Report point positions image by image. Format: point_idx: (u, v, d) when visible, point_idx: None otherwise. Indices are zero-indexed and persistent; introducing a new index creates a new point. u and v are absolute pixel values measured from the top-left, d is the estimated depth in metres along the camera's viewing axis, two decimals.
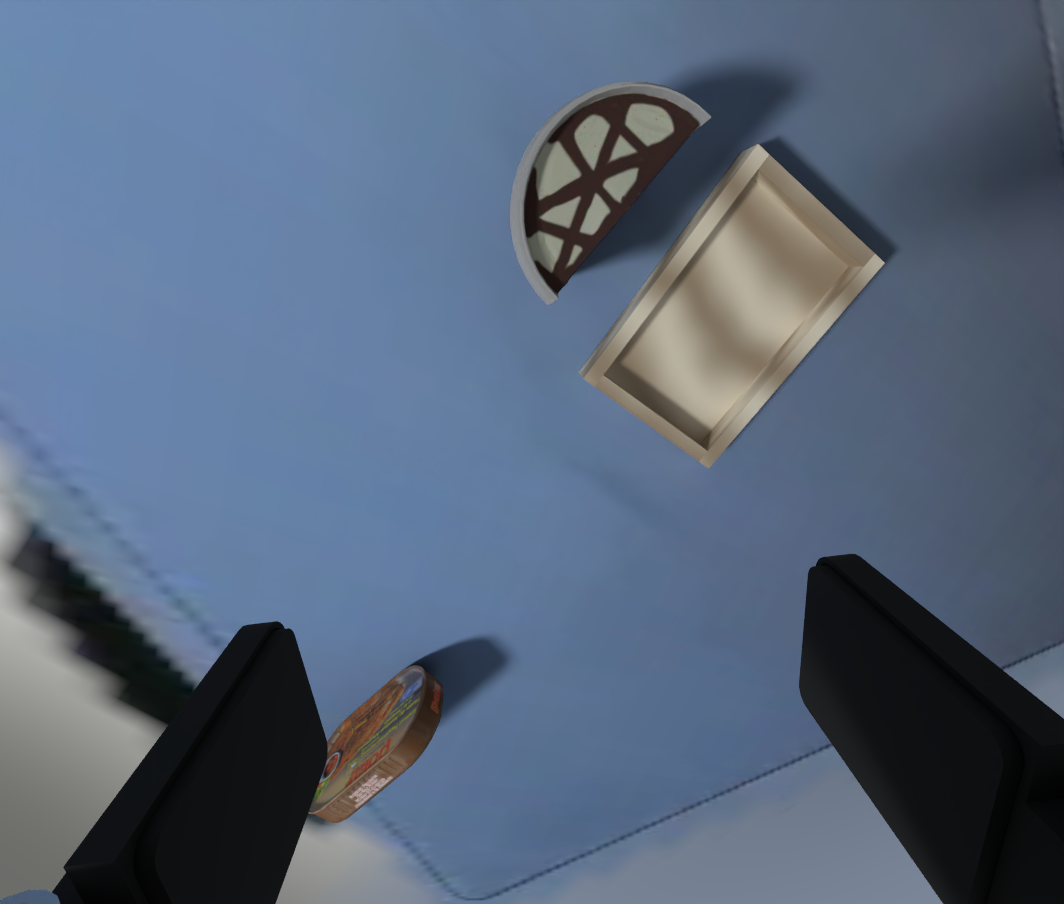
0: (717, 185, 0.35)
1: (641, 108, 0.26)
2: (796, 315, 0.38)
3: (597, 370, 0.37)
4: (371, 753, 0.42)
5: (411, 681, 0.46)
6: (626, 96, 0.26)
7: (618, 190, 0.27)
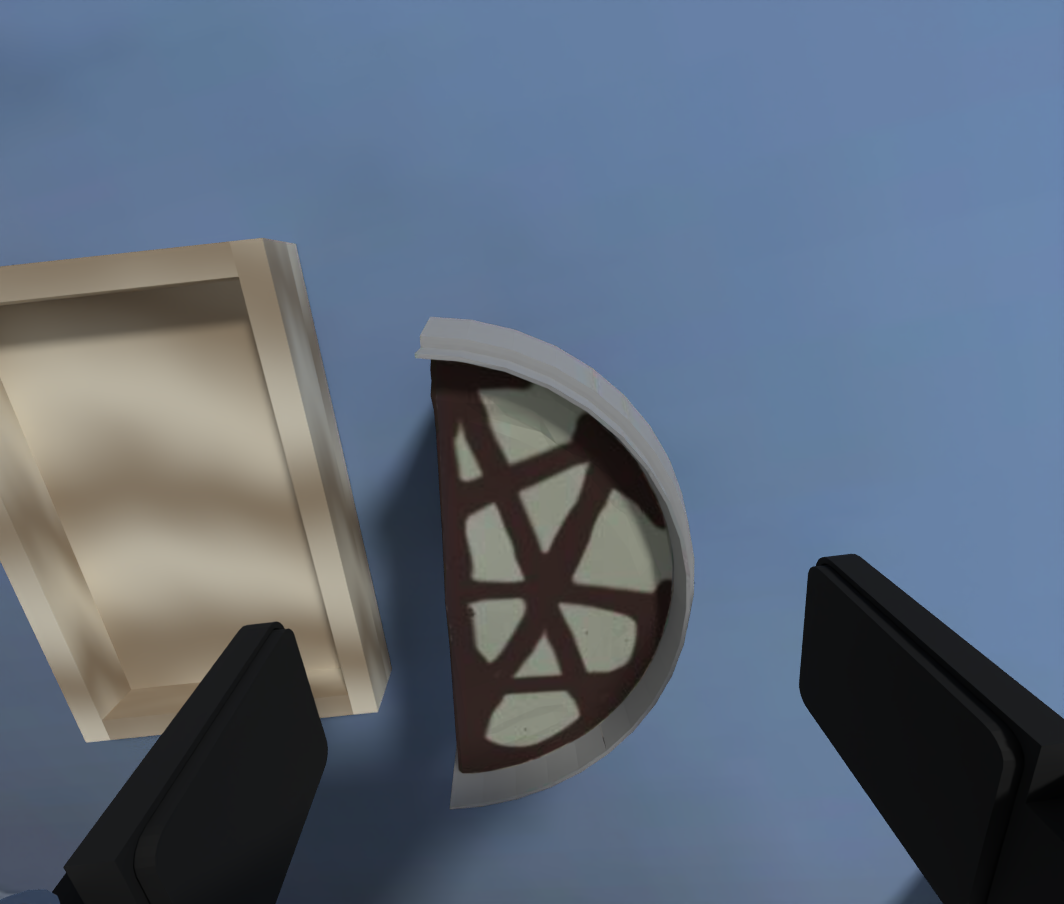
0: (379, 625, 0.23)
1: (560, 723, 0.13)
2: (109, 596, 0.21)
3: (256, 275, 0.16)
4: None
5: None
6: (596, 720, 0.13)
7: (491, 615, 0.12)
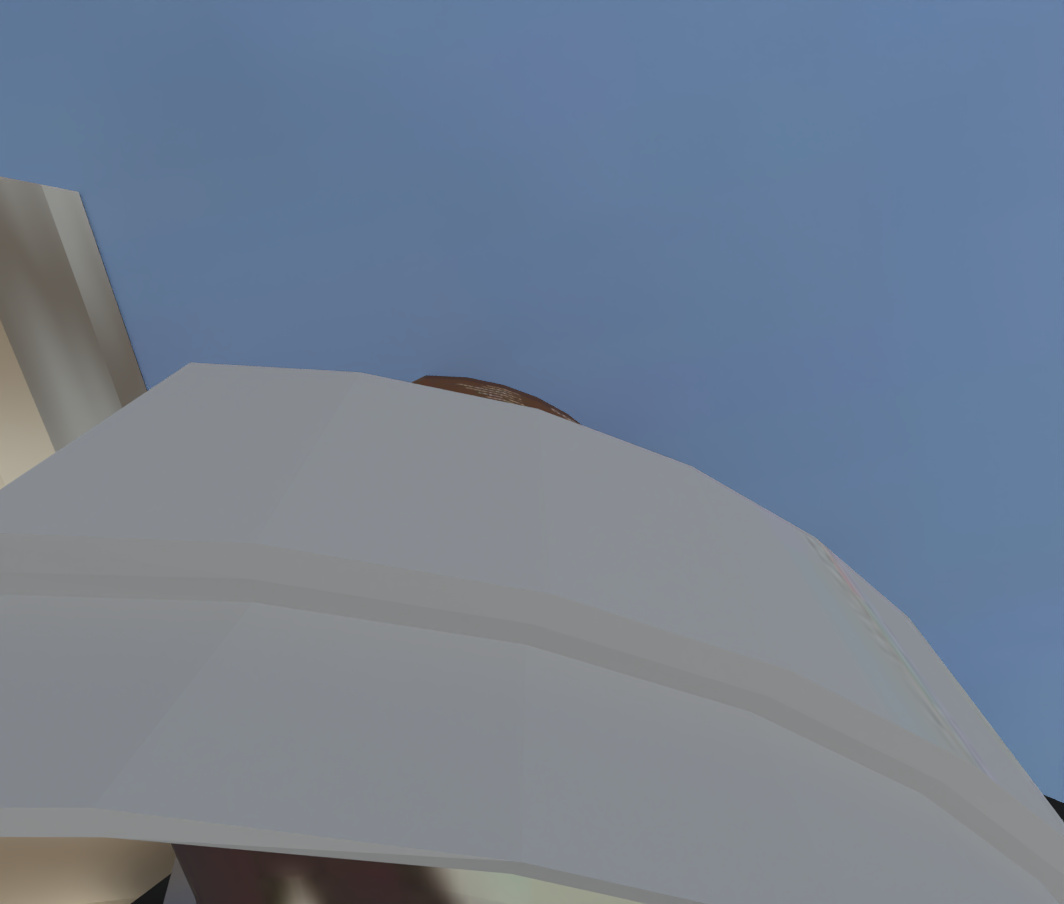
0: None
1: None
2: None
3: None
4: None
5: None
6: None
7: None
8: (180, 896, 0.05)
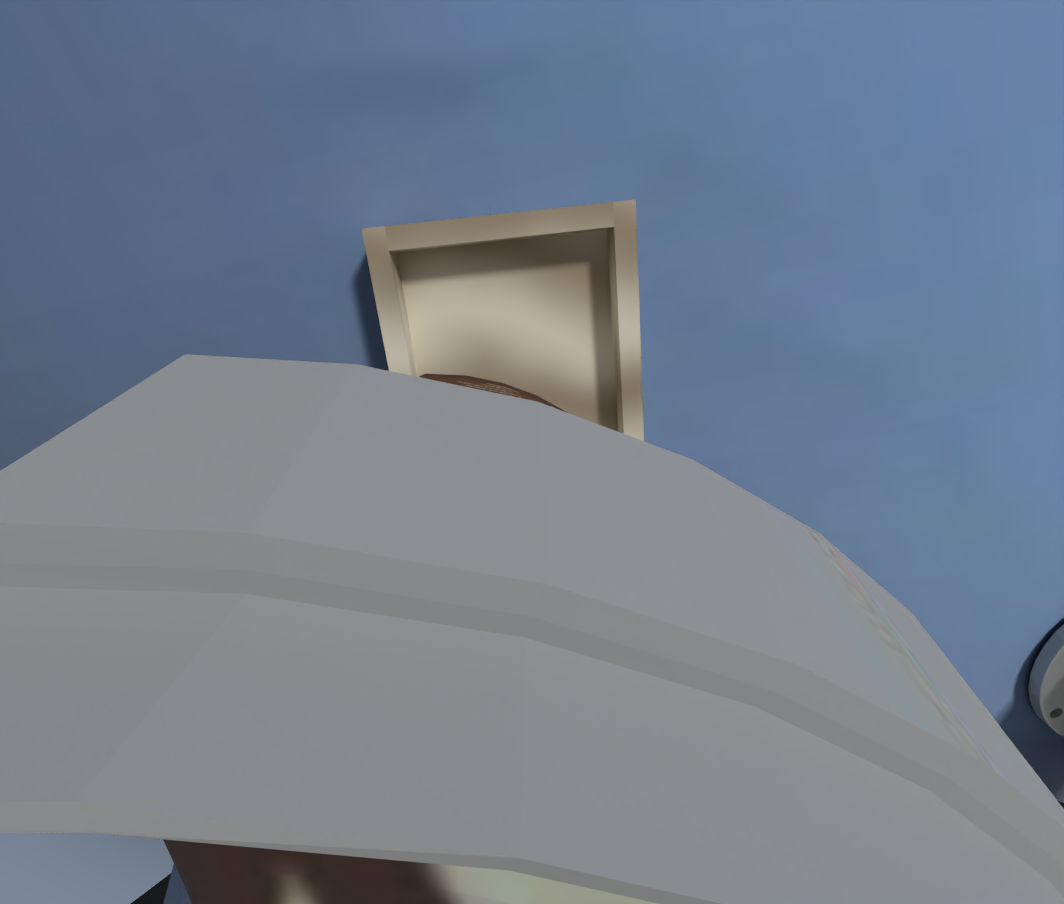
0: None
1: None
2: None
3: (626, 226, 0.23)
4: None
5: None
6: None
7: None
8: (180, 895, 0.05)
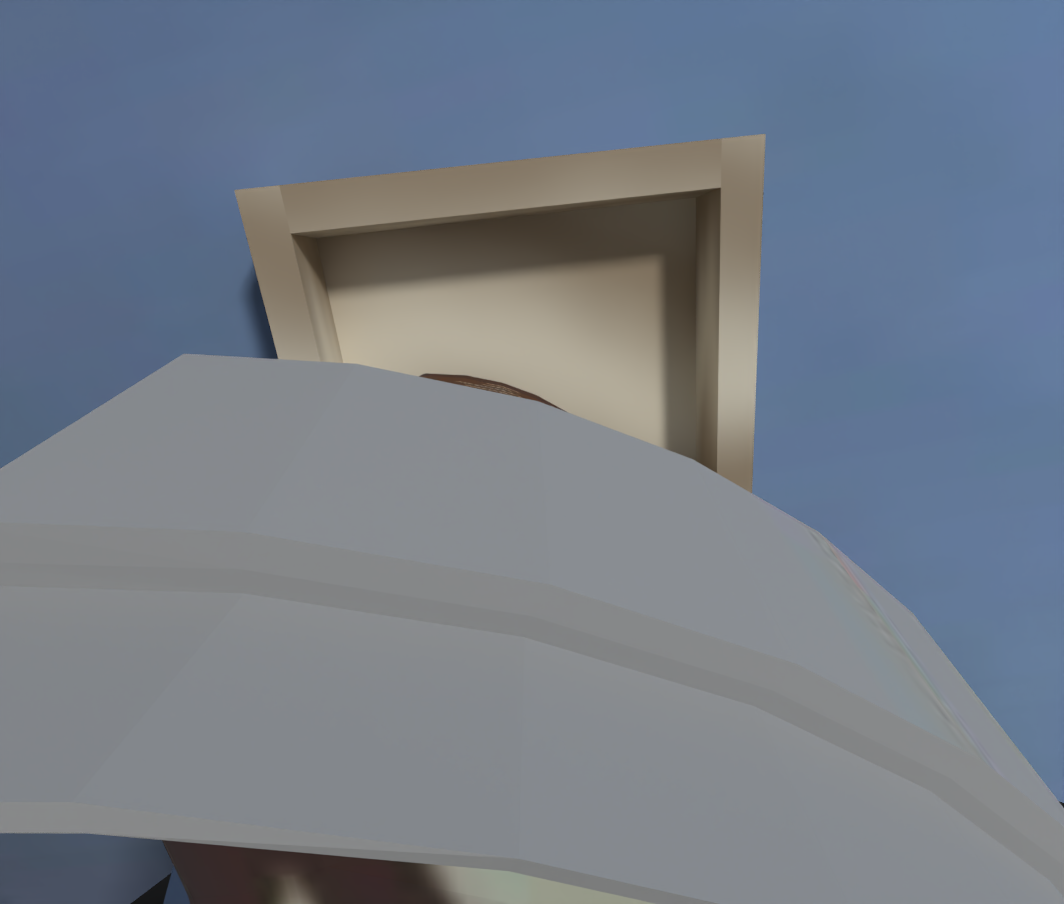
0: None
1: None
2: None
3: (743, 186, 0.12)
4: None
5: None
6: None
7: None
8: (180, 896, 0.05)
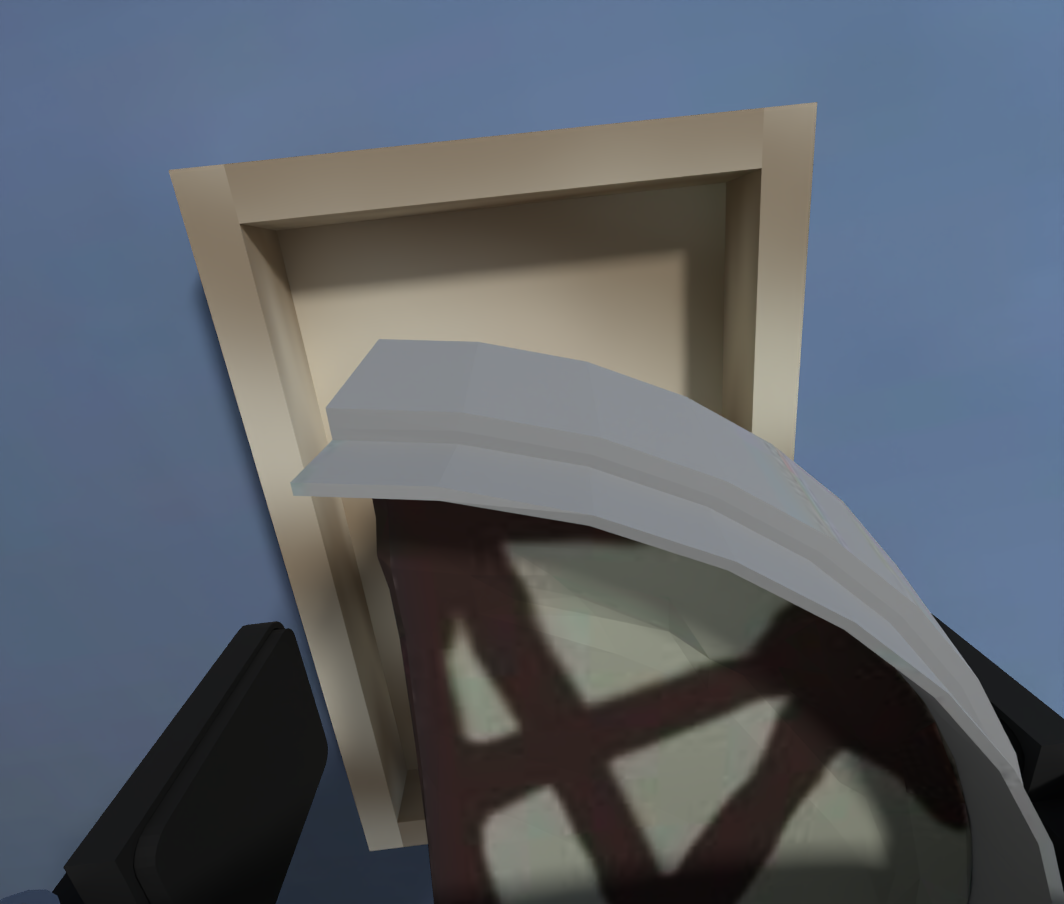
0: None
1: None
2: None
3: (789, 166, 0.10)
4: None
5: None
6: None
7: None
8: None
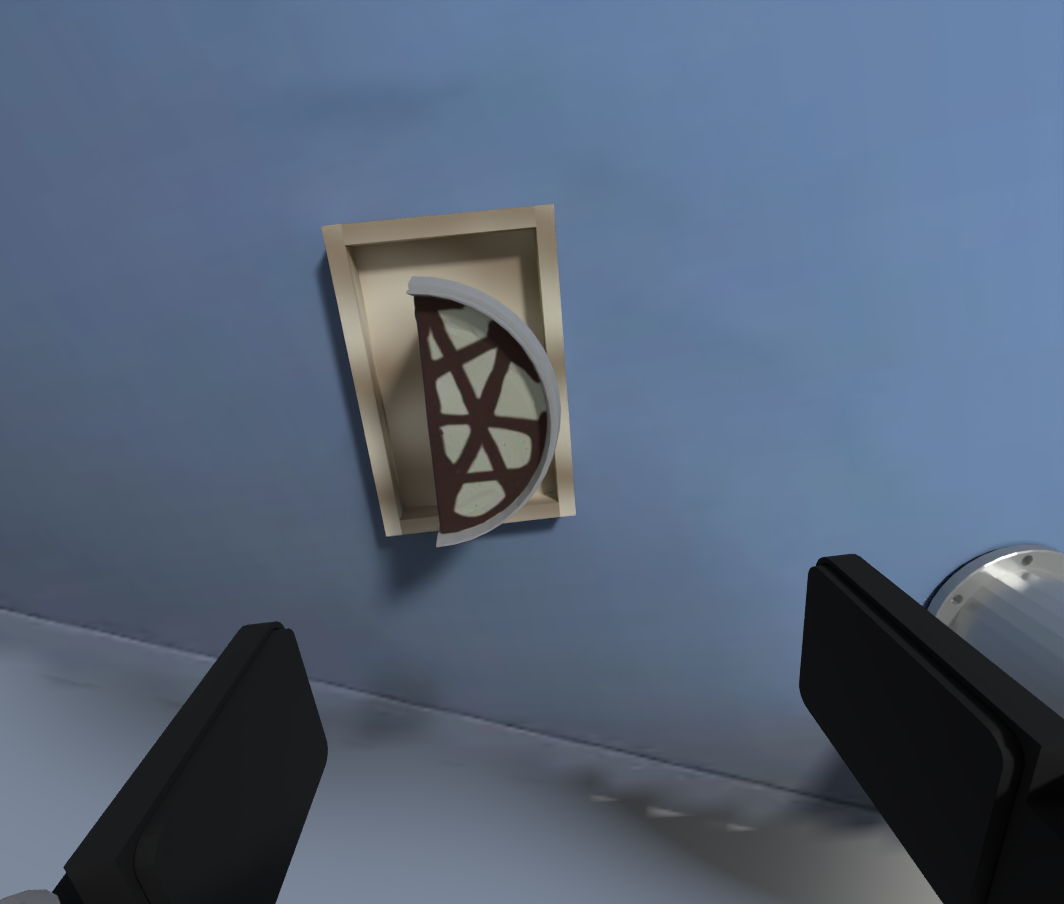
0: None
1: (495, 501, 0.24)
2: (401, 441, 0.33)
3: (546, 226, 0.28)
4: None
5: None
6: (514, 497, 0.24)
7: (452, 434, 0.23)
8: None
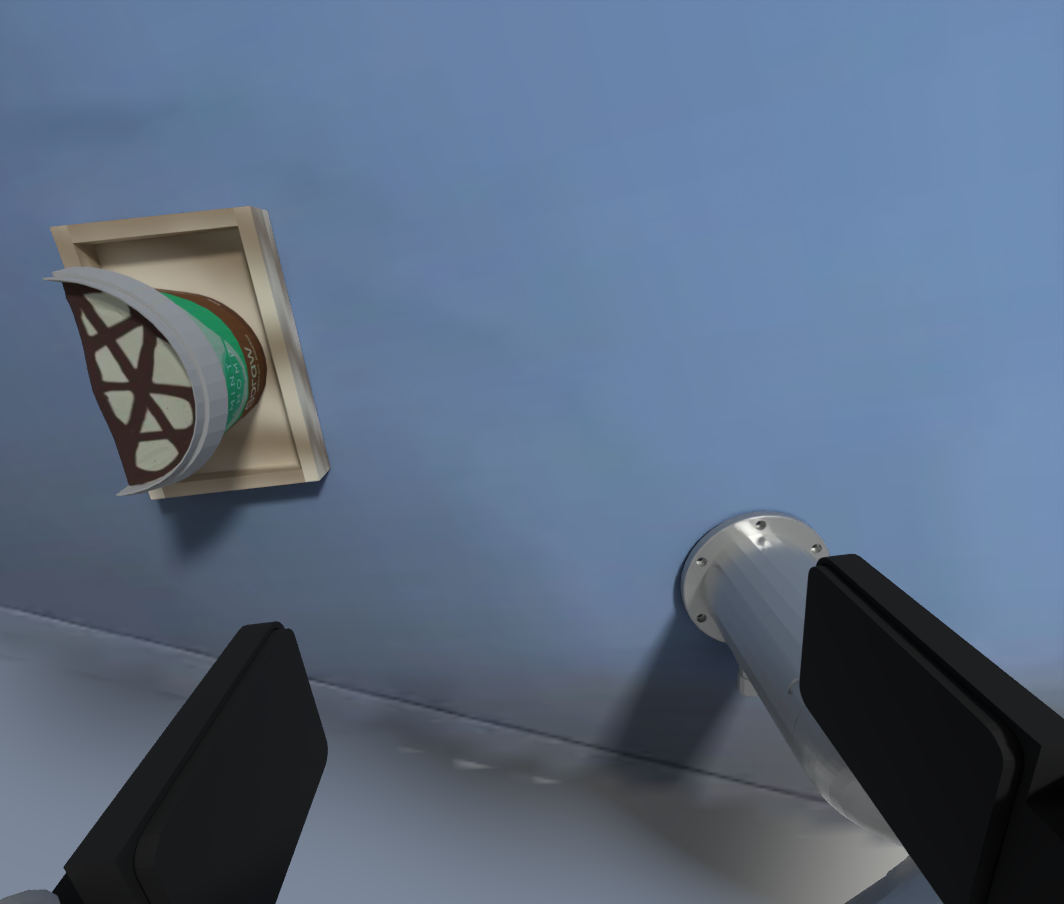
0: (321, 438, 0.39)
1: (170, 457, 0.29)
2: None
3: (246, 225, 0.32)
4: None
5: None
6: (185, 454, 0.29)
7: (117, 399, 0.27)
8: None
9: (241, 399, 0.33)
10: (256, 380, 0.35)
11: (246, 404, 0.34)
